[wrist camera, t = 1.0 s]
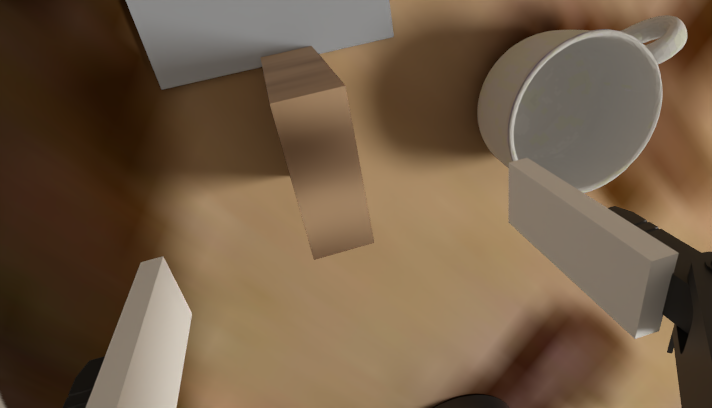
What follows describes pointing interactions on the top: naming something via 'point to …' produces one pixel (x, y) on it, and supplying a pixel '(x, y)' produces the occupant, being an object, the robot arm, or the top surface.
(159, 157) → the top surface
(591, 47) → the teacup
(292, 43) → the felt mat
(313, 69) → the walnut slab
